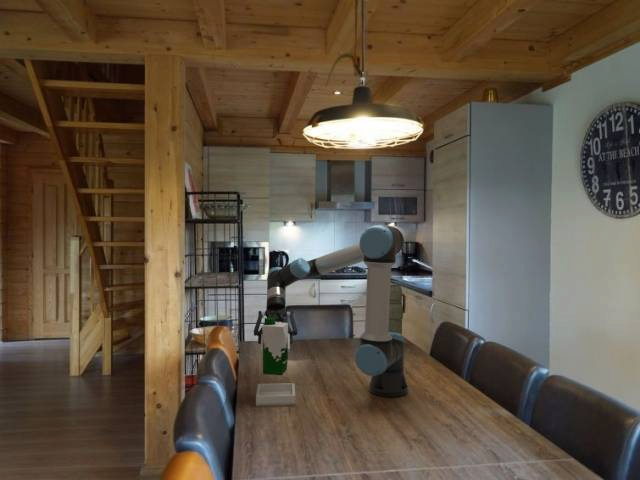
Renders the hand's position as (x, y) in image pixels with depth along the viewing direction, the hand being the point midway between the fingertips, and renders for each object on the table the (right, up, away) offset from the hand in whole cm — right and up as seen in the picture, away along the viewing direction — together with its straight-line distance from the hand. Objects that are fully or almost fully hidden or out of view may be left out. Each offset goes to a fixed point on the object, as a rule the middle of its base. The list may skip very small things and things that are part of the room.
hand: (275, 350), depth 168 cm
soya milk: (0, -9, +3) cm, 10 cm away
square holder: (0, -19, +3) cm, 19 cm away
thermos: (+56, -19, +77) cm, 97 cm away
